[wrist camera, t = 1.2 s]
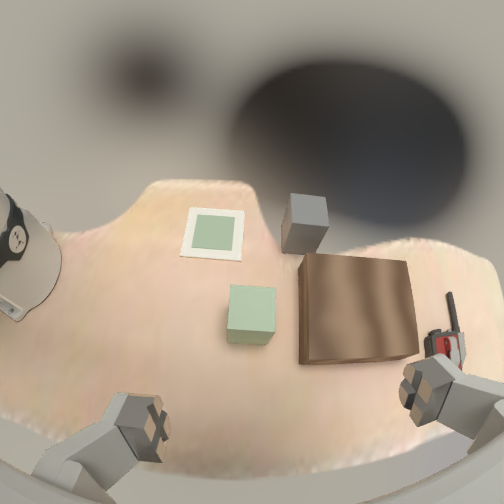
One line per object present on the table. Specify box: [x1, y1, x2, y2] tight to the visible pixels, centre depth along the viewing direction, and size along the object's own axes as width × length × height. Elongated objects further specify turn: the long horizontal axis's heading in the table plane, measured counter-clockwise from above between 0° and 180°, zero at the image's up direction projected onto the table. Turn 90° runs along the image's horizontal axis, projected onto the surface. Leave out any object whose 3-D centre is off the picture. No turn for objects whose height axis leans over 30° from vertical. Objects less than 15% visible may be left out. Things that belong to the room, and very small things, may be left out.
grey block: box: [281, 193, 329, 255], centre depth 40 cm, size 5×5×8 cm
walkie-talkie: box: [424, 292, 466, 371], centre depth 34 cm, size 9×4×20 cm
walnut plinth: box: [298, 253, 419, 364], centre depth 36 cm, size 16×14×5 cm
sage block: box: [227, 285, 276, 345], centre depth 33 cm, size 5×5×8 cm
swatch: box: [180, 207, 245, 262], centre depth 43 cm, size 9×9×1 cm
